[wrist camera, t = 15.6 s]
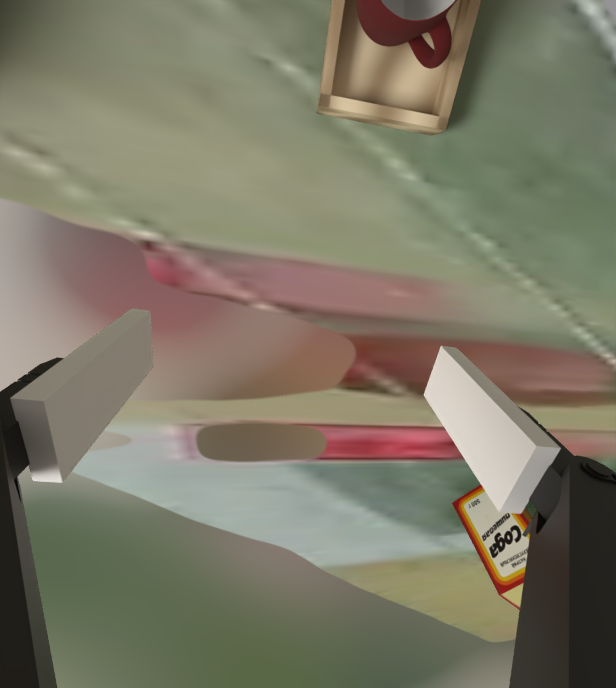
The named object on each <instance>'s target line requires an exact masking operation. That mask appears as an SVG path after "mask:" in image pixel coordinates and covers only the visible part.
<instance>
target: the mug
mask: <svg viewBox="0 0 616 688" xmlns="http://www.w3.org/2000/svg"><path fill="white" fill-rule="evenodd" d="M456 1H457V0H356V7H357V14H358V18H359V21H360V24H361V26H362V28H363V30H364V32H365V33H366V35H367V36H368V37H369V38H370V39H371V40H372V41H373V42H375V43H377V44H379V45H381V46H386V47H392V46H398V45H401V44H404V43H407V42H408V43H409V45H410V47H411V49H412V51H413V53H414V55H415V57H416V58H417V60H418V61H419V62H420V64H422V65H423V66H424V67H426V68H429V69H433V68H436V67H438V66H439V65H441V64H442V63H443V62H444V61H445V60H446V58H447V57H448V55H449V53H450V50H451V44H452V35H451V29H450V26H449V23H448V21H447V18H446V14H447V13H448V11H449V10H450V9H451V7H452V6H453V5H454V4H455V3H456ZM424 33H429V34H430V36H431V39H432V41H433V44H434V49H433V48H431V47H430V45H429V44H428V43H427V42H426V41H425V39H424V38H423V36H422V34H424Z"/></svg>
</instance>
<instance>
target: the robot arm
mask: <svg viewBox="0 0 616 688" xmlns="http://www.w3.org/2000/svg"><path fill="white" fill-rule="evenodd" d="M152 368H153V351H152V333H151V314H150V311H148V310H139V309H130V310H129V311H128V312H126V313H125V314H124V315H122V316H121V317H119V318H118V319H117V320H115V321H114V322H113V323H111V324H110V325H109V326H107V327H106V328H105V329H103V330H102V331H100V332H99V333H98V334H96V335H95V336H94V337H92V338H91V339H90V340H88V341H87V342H86V343H84V344H83V345H81V346H80V347H79V348H77V349H76V350H75V351H73V352H72V353H71V354H69V355H68V356H67V357H65V358H55V359H52V360H50V361H47V362H45V363H42V364H40V365H38V366H37V367H35V368H34V369H33V370H31V371H30V372H28V374H27V375H24V376H23V377H21V378H20V379H18V381H17V382H14V383H12V384H11V385H9V386H8V387H7V388H5V389H4V390H2V391H1V392H0V688H57V684H56V678H55V673H54V667H53V662H52V657H51V652H50V646H49V640H48V635H47V630H46V624H45V619H44V613H43V608H42V603H41V597H40V592H39V586H38V581H37V576H36V570H35V564H34V559H33V554H32V548H31V543H30V537H29V532H28V527H27V521H26V517H25V511H24V505H23V500H22V495H21V489H20V484H19V481H18V477H17V476H18V475H19V474H20V473H21V472H22V471H23V470H24V469H25V468H26V467H27V466H28V465H29V468H30V472H31V476H32V479H33V481H44V482H59V483H62V482H63V481H64V480H65V479H66V477H67V476H68V475H69V474H70V472H71V471H72V470H73V469H74V467H75V466H76V465H77V463H78V462H79V461H80V460H81V458H82V457H83V456H84V455H85V453H86V452H87V451H88V449H89V448H90V447H91V446H92V444H93V443H94V442H95V441H96V439H97V438H98V437H99V435H100V434H101V433H102V432H103V430H104V429H105V428H106V427H107V425H108V424H109V423H110V421H111V420H112V419H113V418H114V416H115V415H116V414H117V413H118V411H119V410H120V409H121V407H122V406H123V405H124V404H125V402H126V401H127V400H128V399H129V397H130V396H131V395H132V393H133V392H134V391H135V390H136V388H137V387H138V386H139V385H140V383H141V382H142V381H143V379H144V378H145V377H146V376H147V374H148V373H149V372H150V370H151V369H152ZM424 396H425V398H426V399H427V401H428V402H429V404H430V406H431V407H432V409H433V410H434V412H435V413H436V415H437V416H438V418H439V420H440V421H441V423H442V424H443V426H444V427H445V429H446V430H447V432H448V434H449V435H450V437H451V438H452V440H453V441H454V443H455V445H456V446H457V448H458V449H459V451H460V452H461V454H462V455H463V457H464V459H465V460H466V462H467V463H468V465H469V466H470V468H471V469H472V471H473V473H474V474H475V476H476V477H477V479H478V480H479V482H480V483H481V485H482V487H483V488H484V490H485V491H486V493H487V494H488V496H489V497H490V499H491V501H492V502H493V504H494V505H495V507H496V508H497V510H498V511H499V512H502V513H516V514H521V513H522V512H523V510H524V508H525V507H526V505H527V503H528V502H529V500H530V501H531V502H532V504H533V505H534V506H535V507H536V509H537V512H536V513H535V515H534V516H533V518H532V520H531V521H530V523H529V524H528V526H527V527H526V529H525V531H524V532H523V534H522V535H523V536H524V537H526V536H527V535H528V534H529V533H530V538H529V546H528V553H527V560H526V568H525V575H524V582H523V590H522V597H521V605H520V612H519V619H518V627H517V634H516V641H515V649H514V656H513V664H512V671H511V678H510V686H509V688H616V473H615V472H613V471H612V470H611V469H609V468H608V467H606V466H605V465H603V464H601V463H599V462H597V461H595V460H592V459H589V458H587V457H582V456H574V455H573V454H572V453H570V452H569V451H568V450H567V449H566V448H565V447H564V446H563V445H562V444H561V443H560V442H559V441H558V440H557V439H556V438H555V437H554V436H552V435H551V434H550V433H549V432H547V431H546V429H545V428H544V427H543V426H542V425H541V424H538V421H537V420H535V419H534V418H533V417H532V416H531V415H530V414H529V413H528V412H526V411H525V410H523V409H522V408H520V407H518V406H517V405H515V404H514V403H513V402H512V401H511V400H510V399H509V398H508V397H507V396H506V395H505V394H504V393H503V392H502V391H501V390H500V389H499V388H498V387H497V386H496V385H495V384H494V383H493V382H492V381H490V380H489V379H488V378H487V377H486V376H485V375H484V374H483V373H482V372H481V371H480V370H479V369H478V368H477V367H476V366H475V365H474V364H473V363H472V362H471V361H470V360H469V359H468V358H467V357H465V356H464V355H463V354H462V353H461V352H460V351H459V350H458V349H457V348H454V347H446V346H441V347H440V350H439V353H438V356H437V359H436V362H435V364H434V367H433V370H432V373H431V376H430V379H429V381H428V384H427V387H426V390H425V393H424Z"/></svg>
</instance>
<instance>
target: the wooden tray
mask: <svg viewBox="0 0 616 688" xmlns="http://www.w3.org/2000/svg"><path fill="white" fill-rule="evenodd" d="M480 4H481V0H457V1H456V3H455V4H454V5H453V6H452V7H451V9H450V10H449V11H448V13H447V14H446V18H447V21H448V23H449V26H450V29H451V35H452V44H451V50H450V53H449V55H448V57H447V58H446V60H445V61H444V62H443V63H442V64H441V65H439V66H438V67H436V68H433V69H429V68H426V67H424V66H423V65H422V64H420V62H419V61H418V60H417V58H416V57H415V55H414V53H413V51H412V49H411V47H410V45H409V43H408V42H407V43H404V44H401V45H398V46H392V47H386V46H381V45H379V44H377V43H375V42H373V41H372V40H371V39H370V38H369V37H368V36H367V35H366V33H365V32H364V30H363V28H362V26H361V24H360V21H359V18H358V14H357V7H356V0H332V2H331V10H330V17H329V25H328V32H327V40H326V47H325V55H324V62H323V70H322V77H321V85H320V92H319V100H318V107H317V114H323V115H328V116H333V117H338V118H344V119H349V120H354V121H359V122H365V123H370V124H375V125H381V126H386V127H391V128H396V129H402V130H407V131H412V132H417V133H423V134H428V135H434V134H437V133H440V132H442V131H445V130H446V127H447V124H448V120H449V116H450V113H451V109H452V105H453V102H454V98H455V95H456V91H457V87H458V84H459V80H460V76H461V73H462V69H463V66H464V62H465V58H466V55H467V51H468V47H469V44H470V40H471V36H472V33H473V29H474V26H475V22H476V18H477V15H478V11H479V7H480ZM422 36H423V38H424V39H425V41H426V42H427V43H428V44H429V45H430V47H431V48H433V49H434V44H433V41H432V39H431V36H430V34H429V33H424V34H422Z"/></svg>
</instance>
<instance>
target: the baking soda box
mask: <svg viewBox="0 0 616 688" xmlns="http://www.w3.org/2000/svg"><path fill="white" fill-rule="evenodd" d="M452 504H453V506H454V508H455V510H456V511H457V513H458V515H459V517H460V519H461V521H462V523H463V525H464V527H465V529H466V531H467V533H468V535H469V537H470V539H471V541H472V543H473V545H474V547H475V549H476V551H477V553H478V554H479V556H480V558H481V560H482V562H483V564H484V566H485V568H486V570H487V572H488V574H489V576H490V578H491V580H492V582H493V584H494V586H495V588H496V590H497V592H498V594H499V596H501V597H502V598H504V599H505V600H507V601H508V602H509V603H511V604H512V605H514V606H515V607H516V608H518V609H519V610H520V605H521V597H522V590H523V582H524V575H525V568H526V560H527V553H528V546H529V538H530V533H529V534H528V535H527V536H526V537H524V536H523V535H522V534H523V532H524V531H525V529H526V527H527V526H528V524H529V523H530V521H531V520H532V517H531V516H530V514H529V513H528V512H527V510H526V509H525V508H524V510H523V512H522V513H521V514H516V513H502V512H499V511H498V510H497V508H496V507H495V505H494V504H493V502H492V501H491V499H490V497H489V496H488V494H487V493H486V491H485V490H484V488H483V487H482V485H480V486H478V487H477V488H475V489H473V490H472V491H470V492H469V493H467V494H466V495H464V496H463V497H461V498H459V499H458V500H456V501H455V502H453V503H452Z"/></svg>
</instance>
